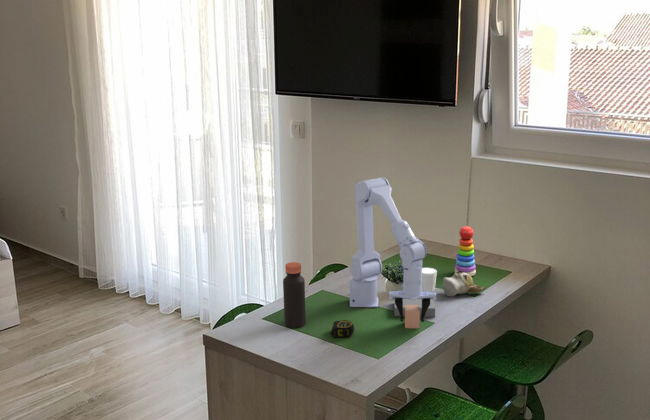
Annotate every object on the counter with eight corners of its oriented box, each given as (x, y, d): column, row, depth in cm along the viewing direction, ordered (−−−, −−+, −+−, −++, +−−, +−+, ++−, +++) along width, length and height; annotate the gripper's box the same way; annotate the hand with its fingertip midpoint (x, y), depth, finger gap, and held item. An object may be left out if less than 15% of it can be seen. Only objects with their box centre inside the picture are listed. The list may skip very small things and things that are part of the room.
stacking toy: (450, 271, 264) (451, 224, 259) (469, 269, 266) (471, 222, 261) (460, 278, 257) (462, 230, 252) (479, 275, 259) (481, 227, 254)
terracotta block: (404, 328, 216) (405, 310, 215) (404, 322, 221) (404, 304, 219) (419, 328, 216) (419, 310, 214) (419, 322, 220) (419, 304, 219)
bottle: (280, 324, 221) (277, 264, 216) (296, 317, 226) (294, 259, 220) (294, 330, 216) (292, 270, 211) (310, 323, 221) (308, 264, 216)
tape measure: (333, 329, 217) (333, 318, 216) (355, 330, 216) (355, 319, 215) (330, 339, 210) (330, 327, 209) (352, 340, 209) (352, 328, 208)
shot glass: (436, 293, 244) (436, 274, 242) (416, 291, 245) (416, 273, 243) (437, 285, 250) (437, 267, 248) (417, 284, 251) (418, 266, 250)
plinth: (394, 316, 225) (394, 307, 224) (394, 303, 236) (394, 294, 235) (434, 317, 224) (435, 308, 223) (433, 303, 234) (433, 295, 234)
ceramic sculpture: (435, 268, 242) (468, 263, 249) (433, 291, 244) (466, 286, 251) (453, 278, 233) (488, 272, 240) (451, 302, 235) (486, 296, 242)
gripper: (389, 284, 211) (388, 325, 215) (437, 284, 210) (436, 326, 213) (389, 275, 218) (389, 315, 222) (435, 276, 217) (434, 316, 220)
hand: (412, 320), depth 218 cm, fingers open, 6 cm apart
